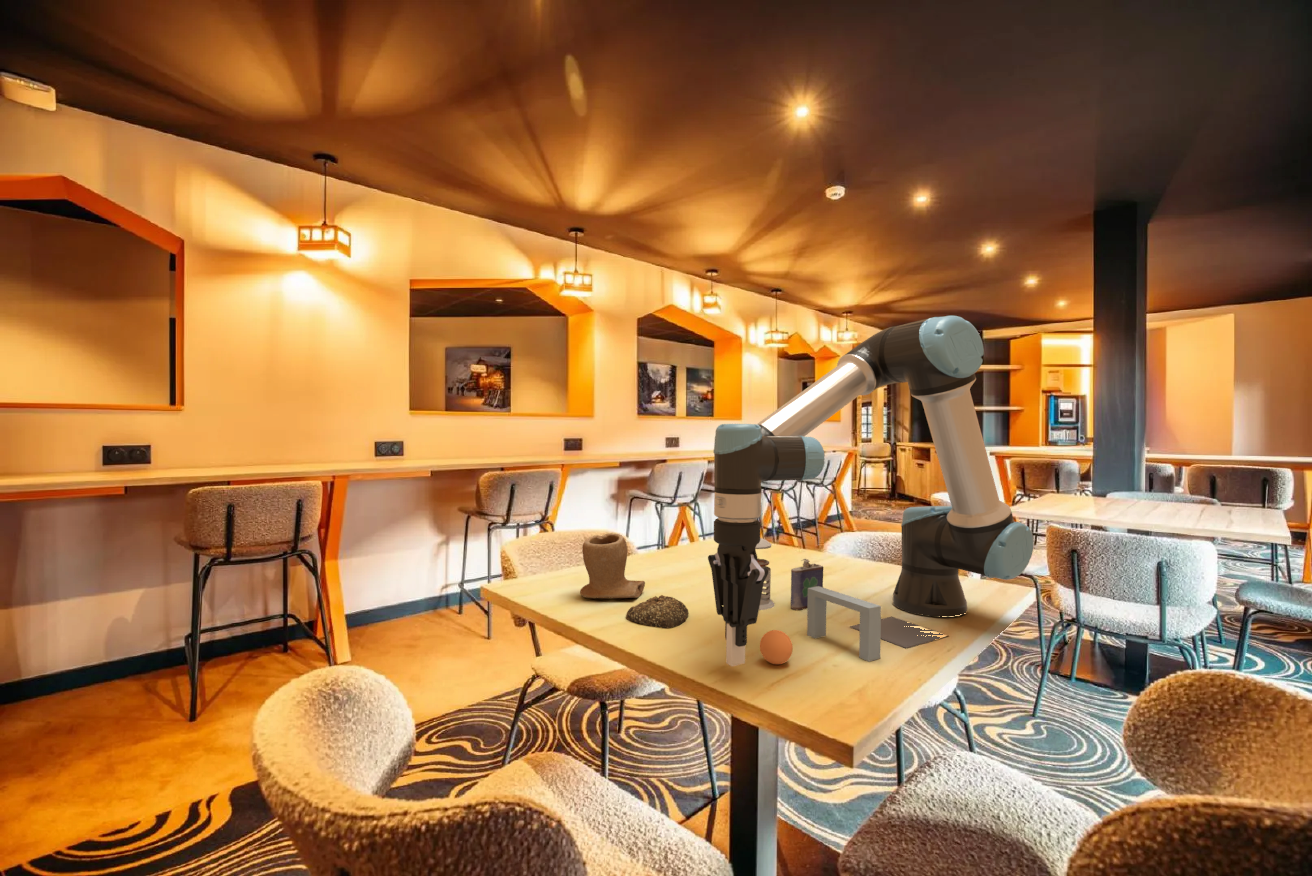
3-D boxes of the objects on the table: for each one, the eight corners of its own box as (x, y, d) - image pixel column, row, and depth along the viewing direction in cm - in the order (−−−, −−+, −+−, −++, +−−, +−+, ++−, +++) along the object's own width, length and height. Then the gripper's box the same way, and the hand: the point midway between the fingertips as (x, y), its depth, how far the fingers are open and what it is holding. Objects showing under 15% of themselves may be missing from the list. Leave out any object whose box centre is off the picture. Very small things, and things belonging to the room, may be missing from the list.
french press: (778, 610, 126) (780, 497, 125) (726, 609, 126) (727, 497, 126) (770, 597, 136) (771, 493, 135) (721, 596, 136) (723, 492, 135)
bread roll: (668, 633, 112) (668, 608, 112) (618, 621, 118) (618, 597, 118) (700, 616, 122) (700, 593, 122) (652, 606, 129) (652, 584, 129)
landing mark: (891, 617, 121) (891, 616, 121) (949, 636, 110) (949, 635, 110) (849, 627, 115) (849, 626, 115) (906, 648, 104) (906, 647, 104)
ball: (777, 654, 100) (777, 623, 100) (799, 665, 96) (799, 633, 96) (752, 660, 98) (753, 628, 98) (774, 672, 93) (775, 638, 93)
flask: (796, 611, 125) (796, 562, 125) (786, 607, 128) (787, 560, 128) (825, 605, 130) (826, 558, 130) (816, 601, 132) (816, 556, 132)
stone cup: (575, 604, 129) (576, 538, 128) (584, 590, 140) (584, 529, 140) (642, 606, 128) (642, 539, 128) (645, 591, 140) (645, 530, 140)
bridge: (818, 632, 112) (818, 586, 112) (880, 658, 99) (881, 605, 99) (807, 635, 110) (807, 588, 110) (868, 661, 98) (869, 608, 97)
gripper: (695, 514, 96) (694, 653, 96) (744, 526, 85) (742, 683, 85) (730, 512, 100) (729, 645, 100) (782, 522, 88) (780, 673, 88)
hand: (735, 663), depth 92 cm, fingers closed
